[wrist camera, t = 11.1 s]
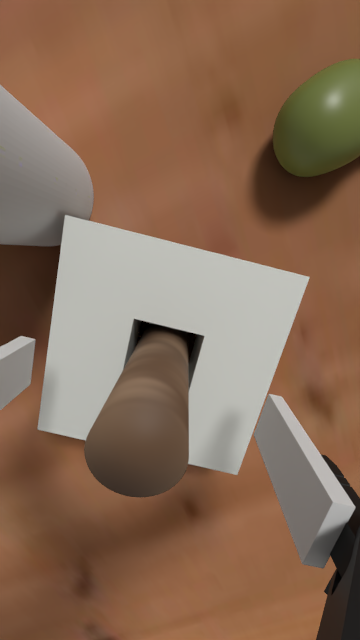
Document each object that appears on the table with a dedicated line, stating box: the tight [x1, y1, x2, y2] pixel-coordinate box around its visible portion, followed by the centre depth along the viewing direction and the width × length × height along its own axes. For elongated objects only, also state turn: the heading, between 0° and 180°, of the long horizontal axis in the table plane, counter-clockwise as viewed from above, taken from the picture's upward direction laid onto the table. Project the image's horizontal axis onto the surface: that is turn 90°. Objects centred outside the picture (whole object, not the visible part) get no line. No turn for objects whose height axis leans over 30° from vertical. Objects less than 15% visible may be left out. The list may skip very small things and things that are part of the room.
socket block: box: [38, 215, 309, 475], centre depth 21 cm, size 16×16×5 cm
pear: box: [273, 59, 360, 177], centre depth 17 cm, size 6×5×10 cm
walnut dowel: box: [84, 323, 189, 497], centre depth 17 cm, size 4×4×14 cm
